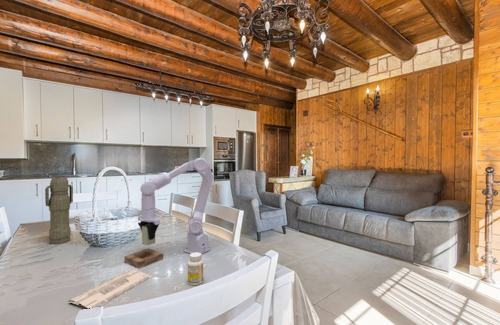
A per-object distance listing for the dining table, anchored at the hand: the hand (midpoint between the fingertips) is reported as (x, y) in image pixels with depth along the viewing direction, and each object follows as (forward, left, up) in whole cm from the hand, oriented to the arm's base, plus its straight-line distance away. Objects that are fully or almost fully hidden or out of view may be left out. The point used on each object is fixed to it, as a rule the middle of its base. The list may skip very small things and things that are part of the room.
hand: (148, 238), depth 107 cm
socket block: (-3, +4, -8) cm, 10 cm away
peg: (0, 0, -2) cm, 2 cm away
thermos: (+58, +15, -8) cm, 60 cm away
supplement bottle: (-35, +4, -8) cm, 36 cm away
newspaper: (-15, +23, -9) cm, 29 cm away
